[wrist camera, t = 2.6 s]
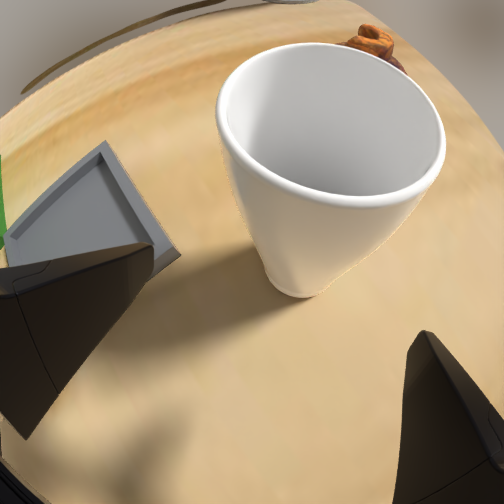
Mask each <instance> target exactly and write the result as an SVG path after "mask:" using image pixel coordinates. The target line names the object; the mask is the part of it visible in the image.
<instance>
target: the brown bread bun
mask: <svg viewBox="0 0 504 504" xmlns="http://www.w3.org/2000/svg"><path fill="white" fill-rule="evenodd" d="M335 45H341V46H346V47H350V48H354V49H357V50H360V51H363V52H366V53H369V54H371V55H374V56H376V57H378V58H380V59H382V60H384V61H386V62H388V63H390V64H391V65H393V66H395V67H396V68H398V69H399V70H401V71H402V72H403V73H405V74H406V75H407V73H406V72H405V70H404V68H403V67H402V65H401V64H400V63H399V62H398V61H397V60H396V59H395V58H394V57H392V52H393V47H394V42H393V39H392V37H391V36H390V35H389V34H387V33H385V32H383V31H382V30H381V29H378V28H376V27H375V26H372V25H366V24H363V25H361V26H360V27H359V31H358V36H355V37H353V38H351V39H350V40H349V41H348V42H343V43H337V44H335ZM407 76H408V75H407Z"/></svg>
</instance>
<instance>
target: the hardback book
mask: <svg viewBox="0 0 504 504" xmlns="http://www.w3.org/2000/svg"><path fill="white" fill-rule="evenodd" d="M6 231H7V228H6V221H5V213H4V204H3V193H2V179H1V155H0V250H1V249H2V247H3V246H4V245H5V244H4V238H3V235H4V234H5V232H6Z"/></svg>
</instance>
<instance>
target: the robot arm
mask: <svg viewBox="0 0 504 504" xmlns="http://www.w3.org/2000/svg"><path fill="white" fill-rule="evenodd" d="M153 270H154V247H153V246H152V245H151V244H148V243H145V242H139V243H133V244H128V245H122V246H117V247H112V248H106V249H101V250H96V251H91V252H86V253H81V254H76V255H71V256H66V257H61V258H56V259H53V260H46V261H41V262H36V263H31V264H25V265H19V266H13V267H6V268H0V423H1V421H2V420H3V419H5V420H6V421H7V422H8V423H9V424H10V425H11V426H12V427H13V428H14V429H15V430H16V431H17V432H18V433H19V434H20V435H21V436H22V437H23V438H24V439H25V440H27V439H28V438H29V437H30V435H31V434H32V432H33V431H34V429H35V428H36V426H37V425H38V424H39V422H40V421H41V419H42V418H43V416H44V415H45V414H46V412H47V411H48V409H49V408H50V407H51V405H52V404H53V403H54V401H55V400H56V398H57V397H58V396H59V394H60V393H61V391H62V390H63V389H64V387H65V386H66V385H67V383H68V382H69V381H70V380H71V378H72V377H73V376H74V374H75V373H76V372H77V370H78V369H79V368H80V366H81V365H82V364H83V363H84V361H85V360H86V359H87V358H88V356H89V355H90V354H91V352H92V351H93V350H94V349H95V347H96V346H97V345H98V344H99V342H100V341H101V340H102V339H103V337H104V336H105V335H106V334H107V333H108V331H109V330H110V329H111V328H112V326H113V325H114V324H115V323H116V322H117V320H118V319H119V318H120V317H121V316H122V314H123V313H124V312H125V311H126V310H127V308H128V307H129V306H130V305H131V303H132V302H133V300H134V299H135V297H136V296H137V294H138V293H139V292H140V290H141V289H142V287H143V286H144V284H145V283H146V281H147V280H148V278H149V277H150V276H151V274H152V272H153ZM0 504H51V503H50V502H49V501H48V500H46V499H45V498H44V497H43V496H42V495H41V494H39V493H38V492H37V491H36V490H35V489H34V488H33V487H32V486H30V485H29V484H28V483H27V482H26V481H25V480H24V479H23V478H22V477H21V476H20V475H19V474H18V473H17V472H16V471H15V470H14V469H13V468H12V467H11V466H10V465H9V464H8V463H7V462H6V461H5V460H4V459H3V458H2V452H1V434H0ZM392 504H504V420H503V419H502V417H501V416H500V415H499V413H498V412H497V411H496V409H495V408H494V407H493V405H492V404H491V403H490V401H489V400H488V399H487V397H486V396H485V395H484V394H483V392H482V391H481V390H480V388H479V387H478V386H477V385H476V383H475V382H474V381H473V380H472V378H471V377H470V376H469V375H468V373H467V372H466V371H465V370H464V368H463V367H462V366H461V365H460V364H459V362H458V361H457V360H456V359H455V358H454V356H453V355H452V354H451V353H450V352H449V351H448V349H447V348H446V347H445V346H444V345H443V344H442V342H441V341H440V340H439V339H438V338H437V337H436V336H435V334H434V333H432V332H429V331H425V330H422V331H420V332H419V334H418V335H417V337H416V338H415V340H414V342H413V343H412V345H411V346H410V348H409V350H408V352H407V360H406V370H405V380H404V388H403V402H402V425H401V440H400V451H399V461H398V469H397V477H396V484H395V491H394V497H393V502H392Z"/></svg>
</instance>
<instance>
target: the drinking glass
mask: <svg viewBox="0 0 504 504" xmlns="http://www.w3.org/2000/svg"><path fill="white" fill-rule="evenodd" d="M215 119H216V126H217V130H218V135H219V141H220V146H221V152H222V157H223V161H224V165H225V170H226V174H227V177H228V181H229V185H230V188H231V192H232V195H233V198H234V201H235V203H236V206H237V209H238V211H239V214H240V216H241V218H242V221H243V223H244V225H245V227H246V229H247V231H248V233H249V235H250V237H251V239H252V241H253V243H254V245H255V247H256V249H257V251H258V254H259V256H260V258H261V260H262V262H263V265H264V269H265V272H266V275H267V277H268V279H269V280H270V282H271V283H272V284H273V285H274V286H275V287H276V288H277V289H278V290H279V291H281V292H282V293H284V294H286V295H289V296H292V297H297V298H307V297H312V296H315V295H318V294H320V293H322V292H323V291H325V290H326V289H327V288H328V287H329V286H330V285H331V284H332V283H333V282H334V281H336V280H337V279H338V278H340V277H341V276H342V275H344V274H345V273H347V272H348V271H349V270H351V269H352V268H353V267H355V266H356V265H358V264H359V263H360V262H362V261H363V260H365V259H366V258H367V257H369V256H370V255H371V254H372V253H374V252H375V251H376V250H377V249H378V248H380V247H381V246H382V245H383V244H384V243H385V242H386V241H387V240H388V239H389V238H390V237H391V236H392V235H393V234H394V233H395V232H396V231H397V230H398V229H399V228H400V226H401V225H402V224H403V223H404V222H405V221H406V219H407V218H408V217H409V216H410V214H411V213H412V212H413V211H414V209H415V208H416V207H417V205H418V204H419V202H420V201H421V200H422V198H423V197H424V195H425V194H426V192H427V191H428V189H429V188H430V186H431V185H432V183H433V182H434V180H435V179H436V178H437V176H438V174H439V172H440V170H441V168H442V165H443V163H444V159H445V153H446V137H445V132H444V127H443V124H442V121H441V118H440V116H439V114H438V112H437V110H436V108H435V106H434V105H433V103H432V102H431V100H430V99H429V97H428V96H427V95H426V94H425V92H424V91H423V90H422V89H421V88H420V87H419V86H418V85H417V84H416V83H415V82H414V81H413V80H412V79H411V78H410V77H408V76H407V75H406V74H405V73H403V72H402V71H401V70H399V69H398V68H396V67H395V66H393V65H391V64H390V63H388V62H386V61H384V60H382V59H380V58H378V57H376V56H374V55H371V54H369V53H366V52H363V51H360V50H357V49H354V48H350V47H346V46H341V45H335V44H327V43H298V44H290V45H284V46H280V47H276V48H273V49H269V50H267V51H264V52H262V53H259V54H257V55H255V56H253V57H251V58H250V59H248V60H246V61H245V62H244V63H242V64H241V65H240V66H238V67H237V68H236V69H235V70H234V71H233V72H232V73H231V74H230V75H229V76H228V78H227V79H226V80H225V82H224V83H223V85H222V87H221V89H220V91H219V94H218V97H217V101H216V106H215Z"/></svg>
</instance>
